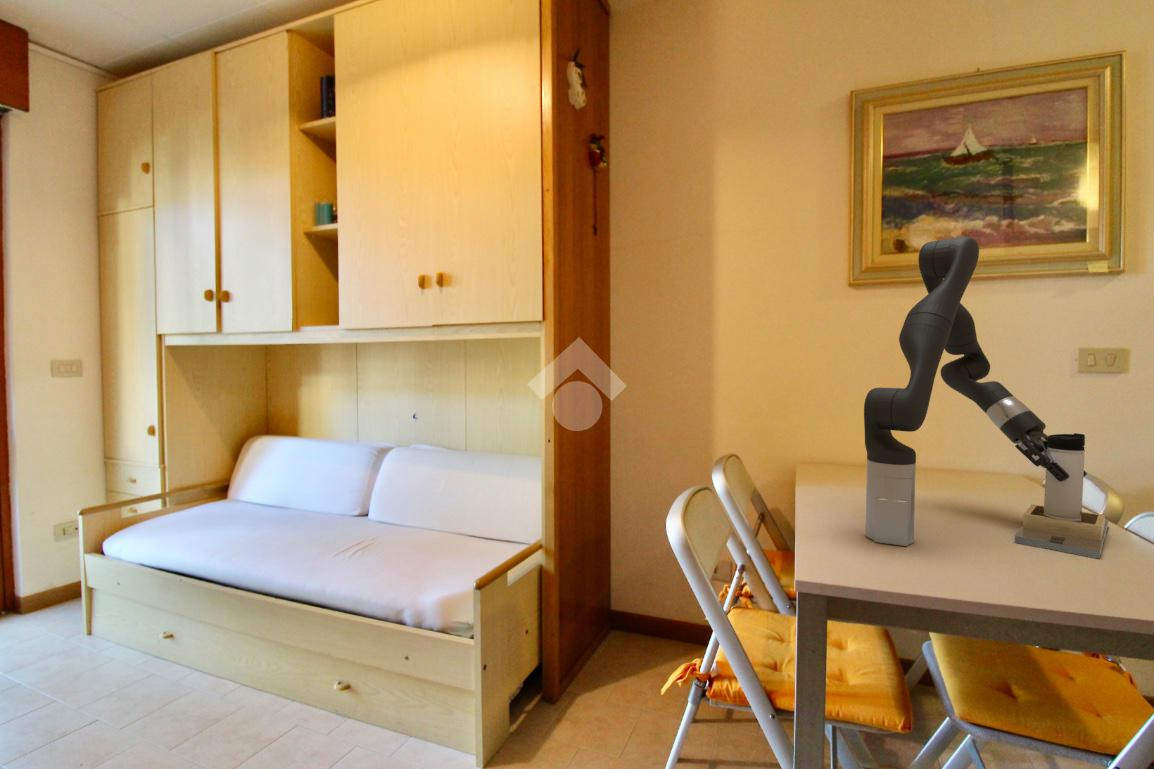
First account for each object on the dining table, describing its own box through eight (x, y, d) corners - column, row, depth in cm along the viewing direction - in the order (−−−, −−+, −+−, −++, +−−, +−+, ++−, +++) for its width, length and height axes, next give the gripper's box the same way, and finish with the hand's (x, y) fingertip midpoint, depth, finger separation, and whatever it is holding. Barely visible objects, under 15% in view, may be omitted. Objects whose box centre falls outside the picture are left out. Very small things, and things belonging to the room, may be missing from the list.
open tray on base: (1099, 559, 104) (1100, 536, 103) (1014, 542, 113) (1015, 522, 113) (1107, 526, 124) (1108, 507, 124) (1035, 515, 134) (1035, 497, 133)
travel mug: (1090, 526, 116) (1095, 435, 115) (1060, 526, 116) (1064, 435, 115) (1065, 517, 122) (1069, 431, 121) (1036, 517, 122) (1039, 431, 121)
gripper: (1009, 410, 122) (1071, 471, 111) (1045, 408, 127) (1107, 466, 117) (983, 430, 127) (1040, 490, 116) (1019, 427, 132) (1076, 484, 122)
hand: (1073, 478), depth 117 cm, fingers closed on travel mug, 6 cm apart
